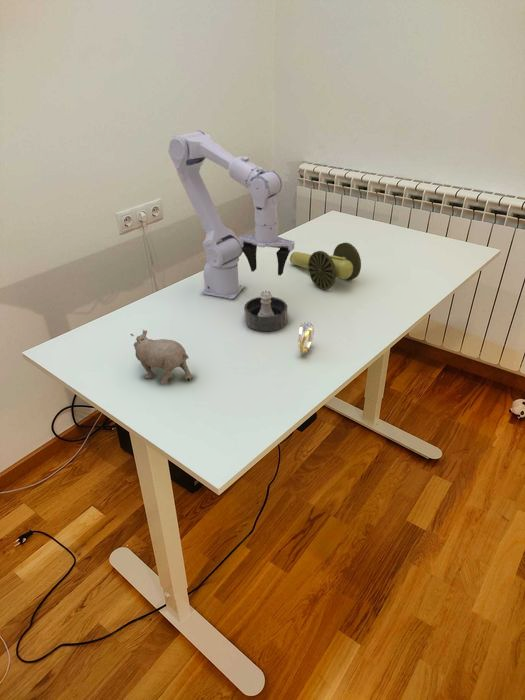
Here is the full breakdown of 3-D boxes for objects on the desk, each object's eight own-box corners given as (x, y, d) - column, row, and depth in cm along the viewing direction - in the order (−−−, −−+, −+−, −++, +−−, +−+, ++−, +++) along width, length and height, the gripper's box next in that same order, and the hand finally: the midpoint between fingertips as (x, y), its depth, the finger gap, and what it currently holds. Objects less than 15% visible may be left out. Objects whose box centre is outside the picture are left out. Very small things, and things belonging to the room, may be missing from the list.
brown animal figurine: (177, 390, 105) (145, 324, 103) (144, 400, 114) (115, 340, 113) (203, 375, 110) (173, 313, 108) (170, 386, 120) (143, 329, 118)
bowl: (238, 328, 130) (237, 313, 127) (254, 308, 138) (254, 293, 136) (278, 336, 126) (278, 320, 124) (292, 315, 135) (293, 300, 132)
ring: (304, 361, 117) (305, 332, 113) (292, 357, 119) (293, 328, 114) (317, 347, 122) (319, 318, 118) (306, 343, 124) (307, 315, 119)
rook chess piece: (272, 324, 130) (272, 297, 125) (256, 323, 131) (255, 295, 126) (275, 316, 133) (276, 289, 129) (259, 314, 134) (259, 287, 130)
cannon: (279, 268, 160) (280, 234, 153) (307, 258, 166) (309, 225, 159) (334, 297, 143) (337, 260, 137) (363, 285, 149) (367, 249, 143)
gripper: (233, 224, 125) (236, 274, 133) (288, 230, 121) (288, 282, 128) (244, 215, 131) (246, 264, 138) (297, 221, 126) (296, 271, 134)
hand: (267, 272), depth 133 cm, fingers open, 7 cm apart
